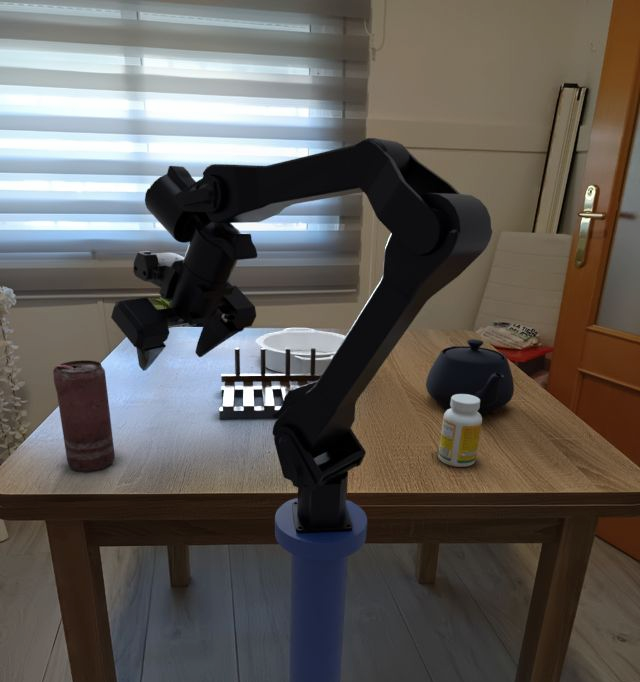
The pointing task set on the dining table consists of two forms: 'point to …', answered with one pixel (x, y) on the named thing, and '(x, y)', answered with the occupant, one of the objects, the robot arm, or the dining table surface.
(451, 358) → the teapot
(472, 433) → the supplement bottle
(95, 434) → the can
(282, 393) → the dish rack
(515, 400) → the dining table surface
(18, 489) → the dining table surface
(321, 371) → the pot
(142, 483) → the dining table surface
